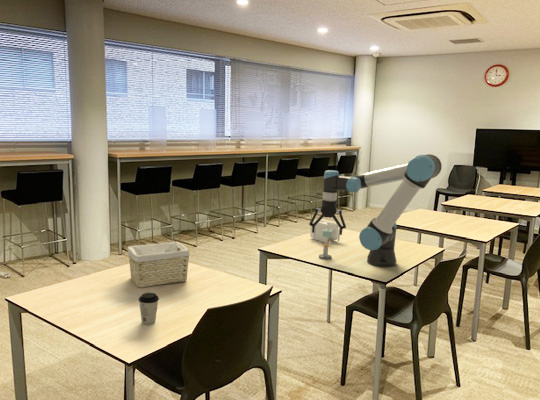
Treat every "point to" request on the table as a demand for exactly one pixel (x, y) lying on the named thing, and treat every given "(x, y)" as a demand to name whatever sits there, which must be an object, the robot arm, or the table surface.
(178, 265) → the storage basket
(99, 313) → the table surface
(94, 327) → the table surface
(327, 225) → the cable organizer
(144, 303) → the coffee cup
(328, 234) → the sleeve
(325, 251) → the post
